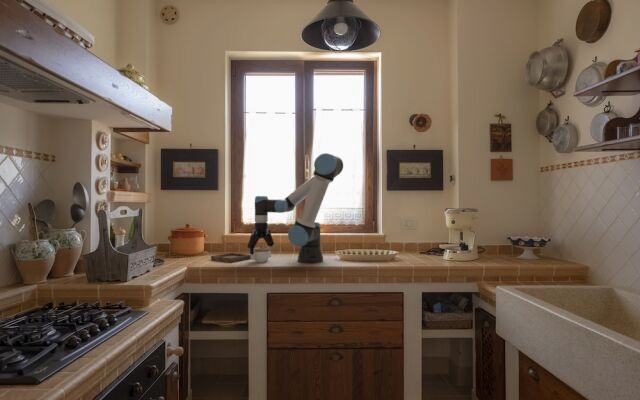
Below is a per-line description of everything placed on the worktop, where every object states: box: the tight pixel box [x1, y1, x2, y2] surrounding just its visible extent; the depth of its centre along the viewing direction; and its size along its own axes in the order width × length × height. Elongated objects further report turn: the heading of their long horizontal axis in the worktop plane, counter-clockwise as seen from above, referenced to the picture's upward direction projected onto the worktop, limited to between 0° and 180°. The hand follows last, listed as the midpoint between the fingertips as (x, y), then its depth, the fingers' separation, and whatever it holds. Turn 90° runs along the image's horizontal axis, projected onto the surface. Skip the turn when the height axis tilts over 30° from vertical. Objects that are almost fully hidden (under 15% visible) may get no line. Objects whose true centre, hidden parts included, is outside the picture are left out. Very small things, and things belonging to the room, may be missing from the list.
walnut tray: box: [210, 252, 251, 264], centre depth 237 cm, size 17×17×2 cm
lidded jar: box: [254, 245, 271, 263], centre depth 230 cm, size 11×11×9 cm
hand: (261, 258), depth 230 cm, fingers open, 13 cm apart
